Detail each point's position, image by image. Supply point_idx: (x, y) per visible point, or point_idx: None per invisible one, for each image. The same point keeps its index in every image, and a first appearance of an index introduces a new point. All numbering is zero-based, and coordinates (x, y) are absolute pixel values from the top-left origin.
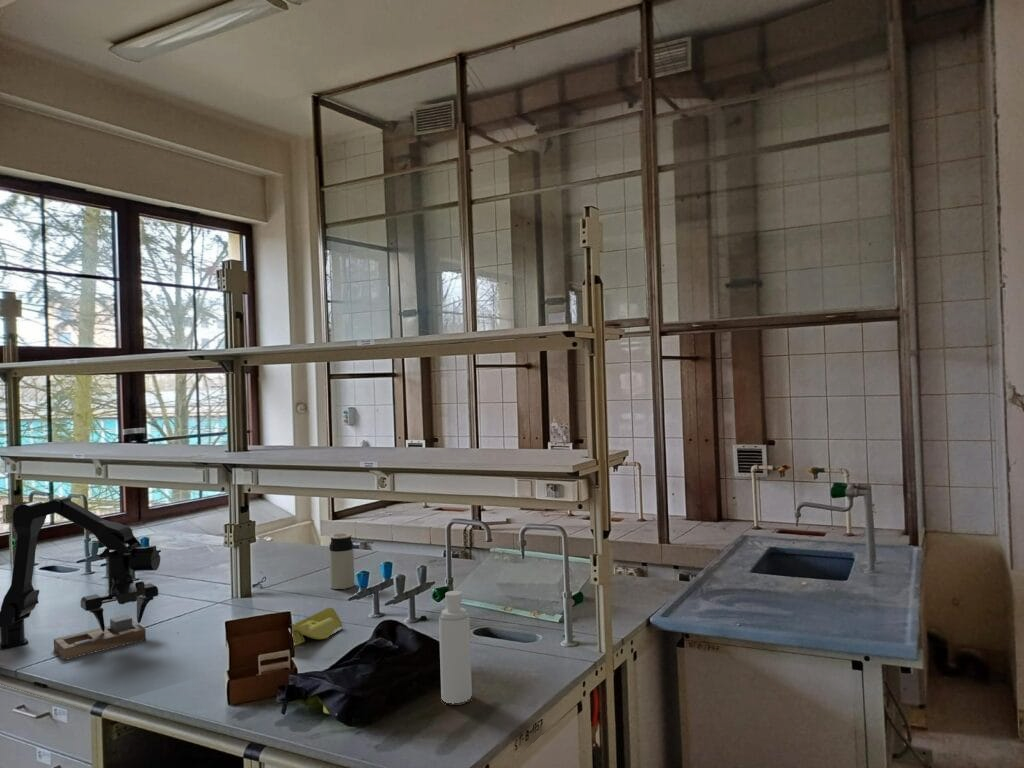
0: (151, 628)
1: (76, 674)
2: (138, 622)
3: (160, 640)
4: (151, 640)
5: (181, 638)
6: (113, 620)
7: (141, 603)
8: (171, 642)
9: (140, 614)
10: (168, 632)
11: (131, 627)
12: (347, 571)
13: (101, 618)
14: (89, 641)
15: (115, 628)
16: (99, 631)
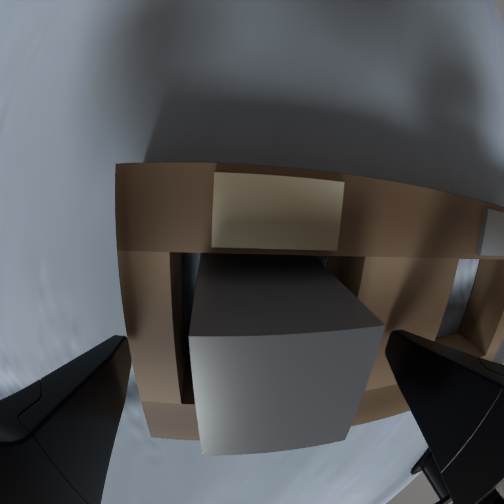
0: (74, 356)
1: (490, 28)
2: (126, 342)
3: (91, 76)
4: (123, 117)
5: (25, 43)
6: (360, 387)
7: (8, 457)
8: (81, 7)
9: (83, 371)
10: (15, 205)
11: (203, 287)
12: None
13: (486, 366)
14: (490, 208)
15: (351, 295)
16: (375, 379)
